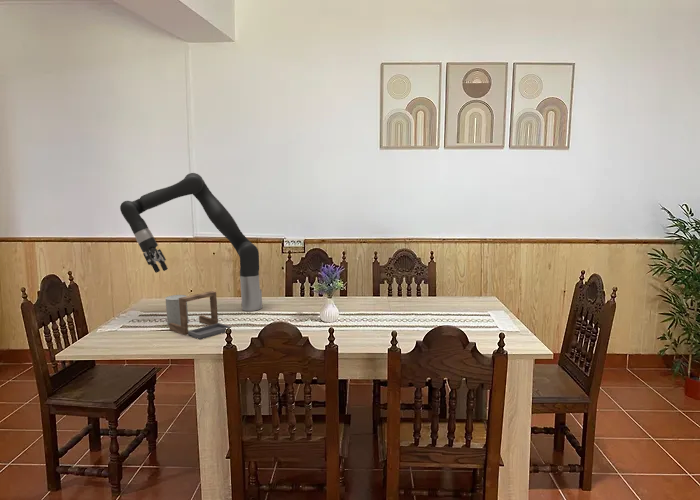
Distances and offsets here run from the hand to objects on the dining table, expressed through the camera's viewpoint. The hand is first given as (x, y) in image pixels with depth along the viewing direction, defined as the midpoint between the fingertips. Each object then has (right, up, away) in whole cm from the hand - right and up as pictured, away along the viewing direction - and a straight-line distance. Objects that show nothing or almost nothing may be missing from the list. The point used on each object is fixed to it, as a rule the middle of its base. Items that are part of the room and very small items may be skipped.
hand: (162, 271), depth 292 cm
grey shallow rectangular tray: (+27, -26, -20) cm, 42 cm away
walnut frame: (+18, -25, -11) cm, 33 cm away
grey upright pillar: (+8, -24, -2) cm, 26 cm away
